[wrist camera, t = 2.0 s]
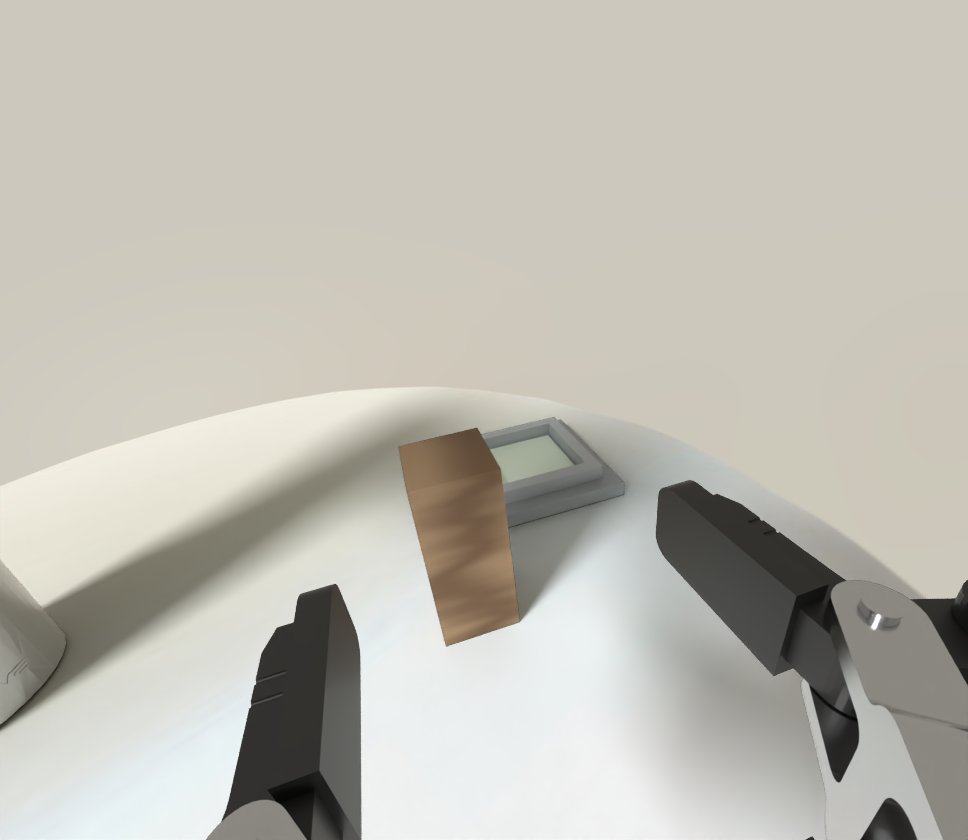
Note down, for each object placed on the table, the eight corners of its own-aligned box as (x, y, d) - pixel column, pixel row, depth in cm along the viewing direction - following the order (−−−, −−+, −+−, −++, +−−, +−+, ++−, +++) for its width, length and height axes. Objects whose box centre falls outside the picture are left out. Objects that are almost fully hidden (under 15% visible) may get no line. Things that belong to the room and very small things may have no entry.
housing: (429, 550, 31) (421, 516, 30) (411, 466, 42) (404, 438, 40) (624, 494, 34) (625, 461, 33) (561, 429, 45) (559, 402, 43)
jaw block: (445, 646, 24) (406, 493, 19) (433, 586, 28) (398, 446, 23) (519, 621, 25) (500, 468, 20) (497, 567, 29) (477, 427, 24)
